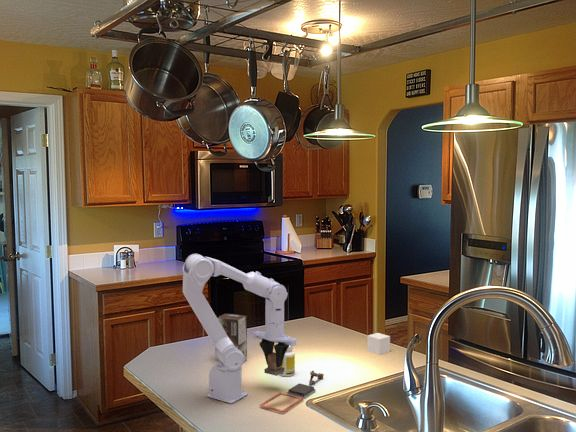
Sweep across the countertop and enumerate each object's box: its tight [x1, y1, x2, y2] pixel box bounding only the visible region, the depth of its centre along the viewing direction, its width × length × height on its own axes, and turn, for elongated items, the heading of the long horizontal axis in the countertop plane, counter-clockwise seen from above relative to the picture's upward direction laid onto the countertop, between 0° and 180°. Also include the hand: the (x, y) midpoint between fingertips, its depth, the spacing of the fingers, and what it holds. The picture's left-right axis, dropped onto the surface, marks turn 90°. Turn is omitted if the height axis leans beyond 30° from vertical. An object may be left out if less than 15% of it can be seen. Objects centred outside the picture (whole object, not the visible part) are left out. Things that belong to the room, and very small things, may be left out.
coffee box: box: [216, 313, 248, 363], centre depth 192 cm, size 9×6×16 cm
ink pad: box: [286, 383, 316, 400], centre depth 164 cm, size 6×7×2 cm
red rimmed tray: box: [259, 392, 304, 415], centre depth 156 cm, size 8×11×1 cm
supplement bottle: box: [278, 345, 296, 377], centre depth 180 cm, size 5×5×10 cm
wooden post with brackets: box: [308, 370, 325, 386], centre depth 173 cm, size 2×8×4 cm, turn 151°
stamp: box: [264, 351, 284, 377], centre depth 166 cm, size 4×4×6 cm
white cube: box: [366, 332, 391, 356], centre depth 204 cm, size 6×6×6 cm
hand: (274, 365), depth 166 cm, fingers closed on stamp, 3 cm apart
